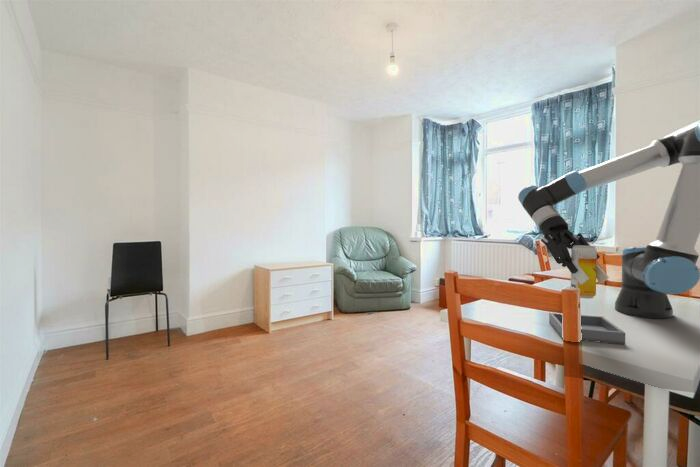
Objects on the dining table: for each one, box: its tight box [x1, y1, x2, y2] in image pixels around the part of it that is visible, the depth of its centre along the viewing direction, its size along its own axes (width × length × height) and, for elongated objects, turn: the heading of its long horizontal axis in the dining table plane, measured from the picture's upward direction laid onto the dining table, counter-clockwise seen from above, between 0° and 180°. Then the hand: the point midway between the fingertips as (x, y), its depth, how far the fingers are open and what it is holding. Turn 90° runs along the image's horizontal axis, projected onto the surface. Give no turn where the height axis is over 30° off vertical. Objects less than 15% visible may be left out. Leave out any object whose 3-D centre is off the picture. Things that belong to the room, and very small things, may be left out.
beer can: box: [570, 245, 598, 299], centre depth 95 cm, size 6×6×15 cm
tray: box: [548, 312, 626, 345], centre depth 95 cm, size 15×15×3 cm
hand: (594, 280), depth 91 cm, fingers closed on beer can, 6 cm apart
